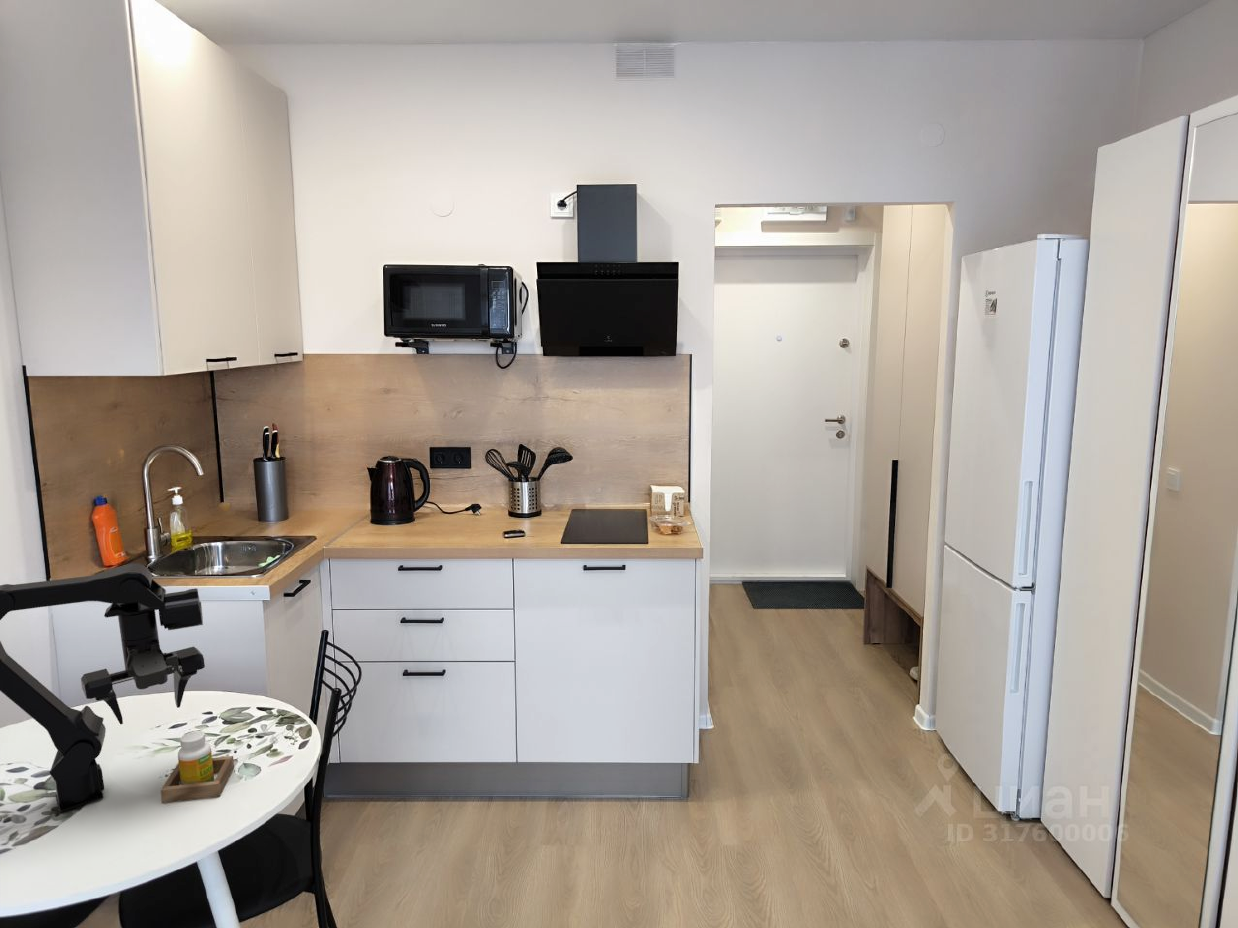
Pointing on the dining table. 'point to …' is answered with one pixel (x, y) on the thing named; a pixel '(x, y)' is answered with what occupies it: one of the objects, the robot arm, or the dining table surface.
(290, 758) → the dining table surface
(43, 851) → the dining table surface
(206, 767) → the supplement bottle
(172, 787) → the walnut collar
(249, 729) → the dining table surface
